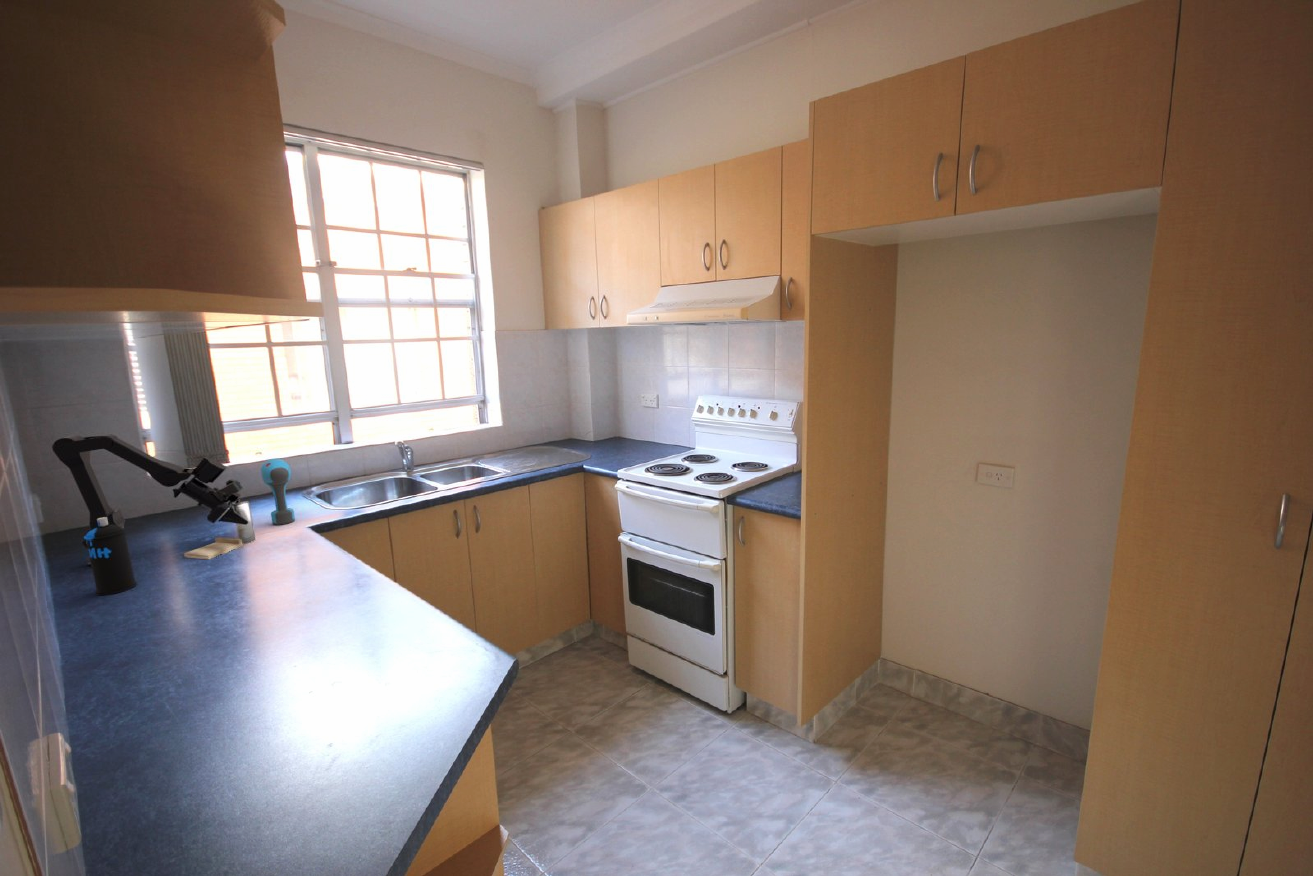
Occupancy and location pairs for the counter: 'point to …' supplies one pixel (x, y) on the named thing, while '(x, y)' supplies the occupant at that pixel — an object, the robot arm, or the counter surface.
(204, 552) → the wooden tray
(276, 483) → the power drill
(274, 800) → the counter surface
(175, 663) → the counter surface
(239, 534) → the rod
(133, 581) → the aerosol can
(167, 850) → the counter surface
